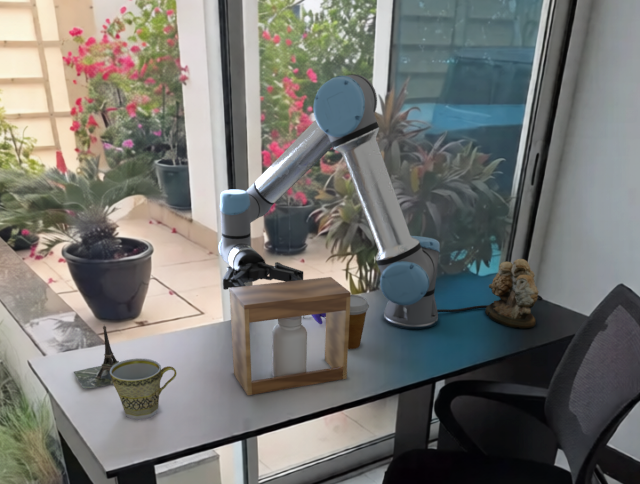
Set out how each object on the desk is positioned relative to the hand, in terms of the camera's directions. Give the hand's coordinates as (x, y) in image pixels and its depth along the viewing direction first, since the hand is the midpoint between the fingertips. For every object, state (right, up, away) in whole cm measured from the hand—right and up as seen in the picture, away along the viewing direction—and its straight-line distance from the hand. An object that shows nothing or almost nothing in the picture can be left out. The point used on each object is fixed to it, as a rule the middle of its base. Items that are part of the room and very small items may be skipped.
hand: (274, 290), depth 152 cm
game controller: (+10, -2, +31) cm, 33 cm away
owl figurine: (+64, 0, +38) cm, 75 cm away
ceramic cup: (-25, -28, -14) cm, 41 cm away
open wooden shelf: (+3, -20, +1) cm, 20 cm away
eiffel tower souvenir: (-37, -20, -1) cm, 42 cm away
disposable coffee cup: (+17, -10, +18) cm, 27 cm away
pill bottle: (+3, -20, +2) cm, 20 cm away
